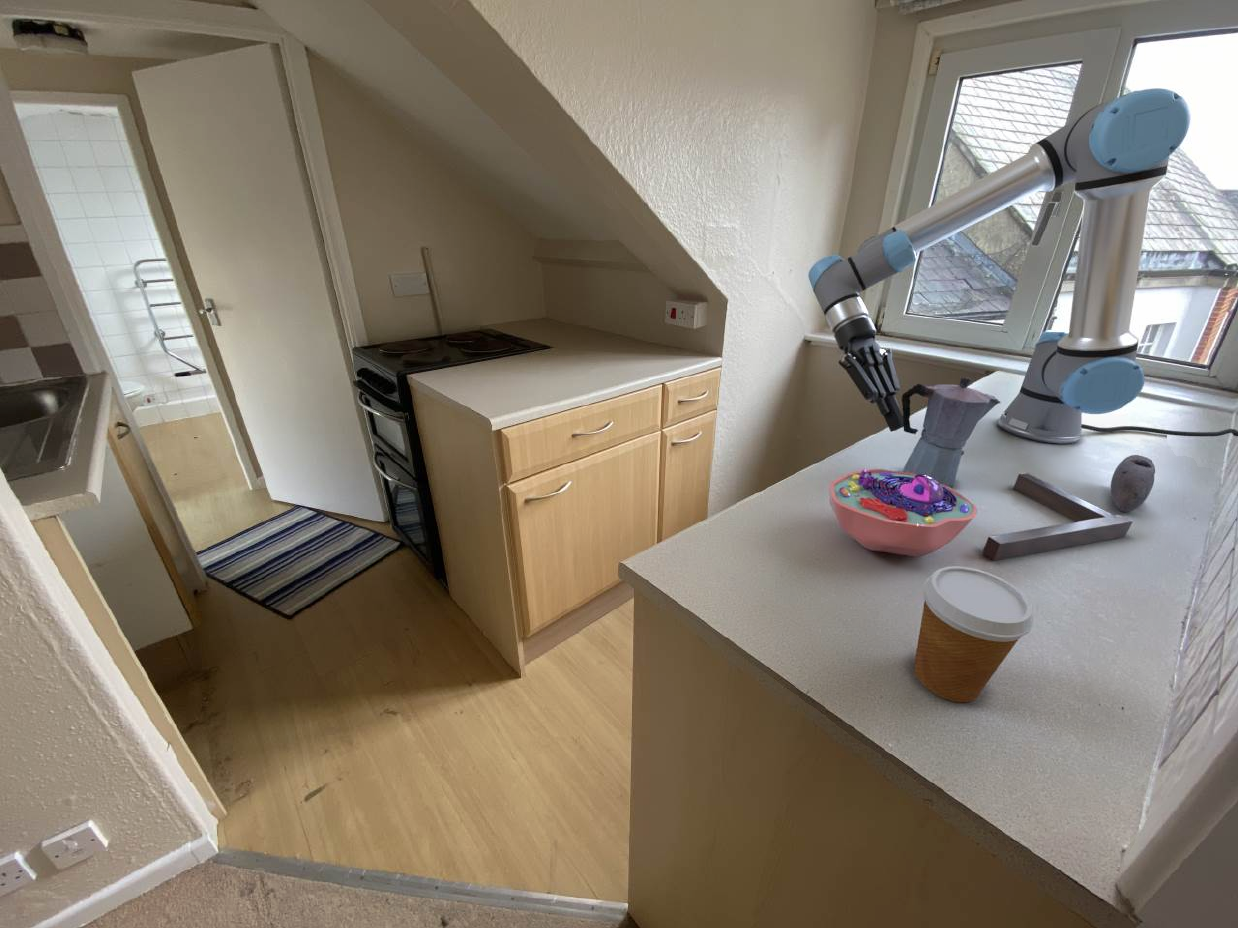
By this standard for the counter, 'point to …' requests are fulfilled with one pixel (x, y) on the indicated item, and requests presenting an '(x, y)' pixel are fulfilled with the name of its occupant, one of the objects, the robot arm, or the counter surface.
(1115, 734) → the counter surface
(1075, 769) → the counter surface
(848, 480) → the cell model
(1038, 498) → the corner guide
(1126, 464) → the perforated stone tool
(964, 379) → the moka pot
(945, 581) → the disposable coffee cup
